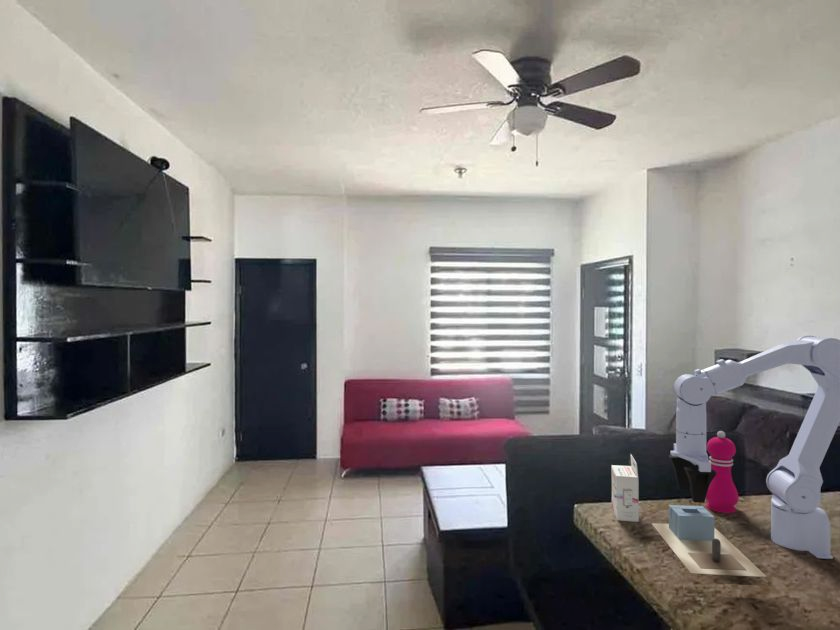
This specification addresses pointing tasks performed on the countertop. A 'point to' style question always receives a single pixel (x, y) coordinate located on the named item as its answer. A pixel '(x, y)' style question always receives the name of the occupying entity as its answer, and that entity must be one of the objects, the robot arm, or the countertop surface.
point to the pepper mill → (721, 475)
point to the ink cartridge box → (625, 491)
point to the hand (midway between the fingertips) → (690, 495)
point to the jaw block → (691, 522)
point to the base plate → (709, 555)
